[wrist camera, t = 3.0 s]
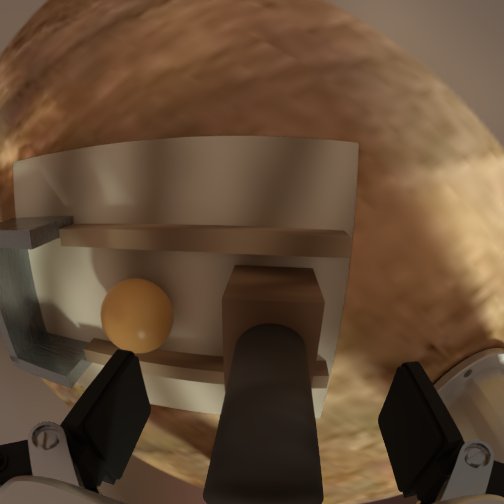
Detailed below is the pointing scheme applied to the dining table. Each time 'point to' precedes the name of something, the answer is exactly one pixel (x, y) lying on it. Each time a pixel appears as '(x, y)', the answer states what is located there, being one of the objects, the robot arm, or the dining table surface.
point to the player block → (268, 389)
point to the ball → (137, 315)
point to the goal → (33, 305)
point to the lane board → (188, 242)
